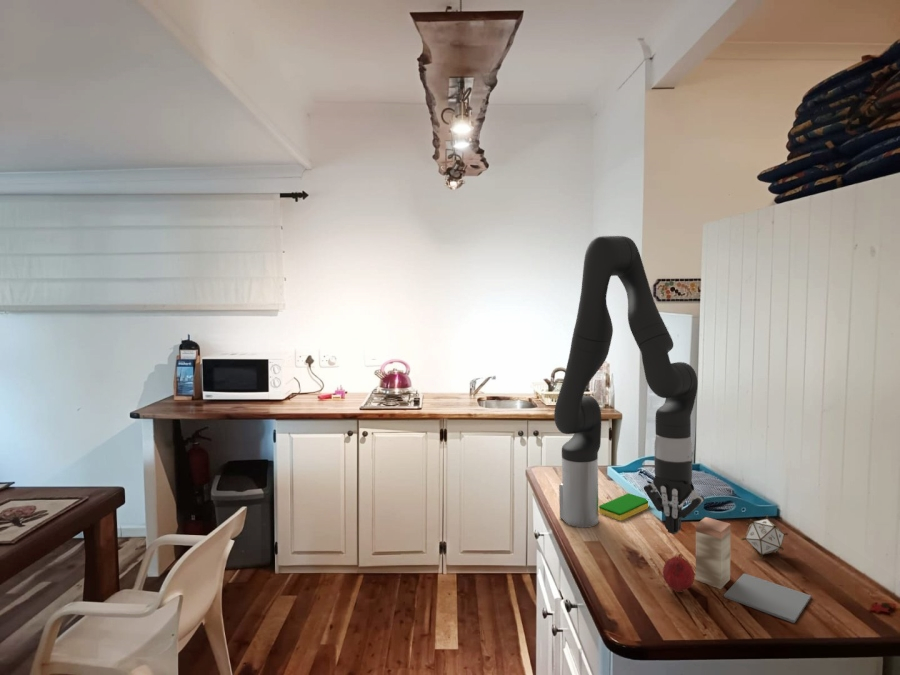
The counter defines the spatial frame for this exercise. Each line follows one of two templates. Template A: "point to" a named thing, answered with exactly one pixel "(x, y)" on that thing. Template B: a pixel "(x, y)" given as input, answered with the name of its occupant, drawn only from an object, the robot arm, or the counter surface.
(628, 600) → the counter surface
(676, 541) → the counter surface
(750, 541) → the game die
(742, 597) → the mat
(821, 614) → the counter surface
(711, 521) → the beech block
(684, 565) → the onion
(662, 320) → the robot arm
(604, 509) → the dish sponge
